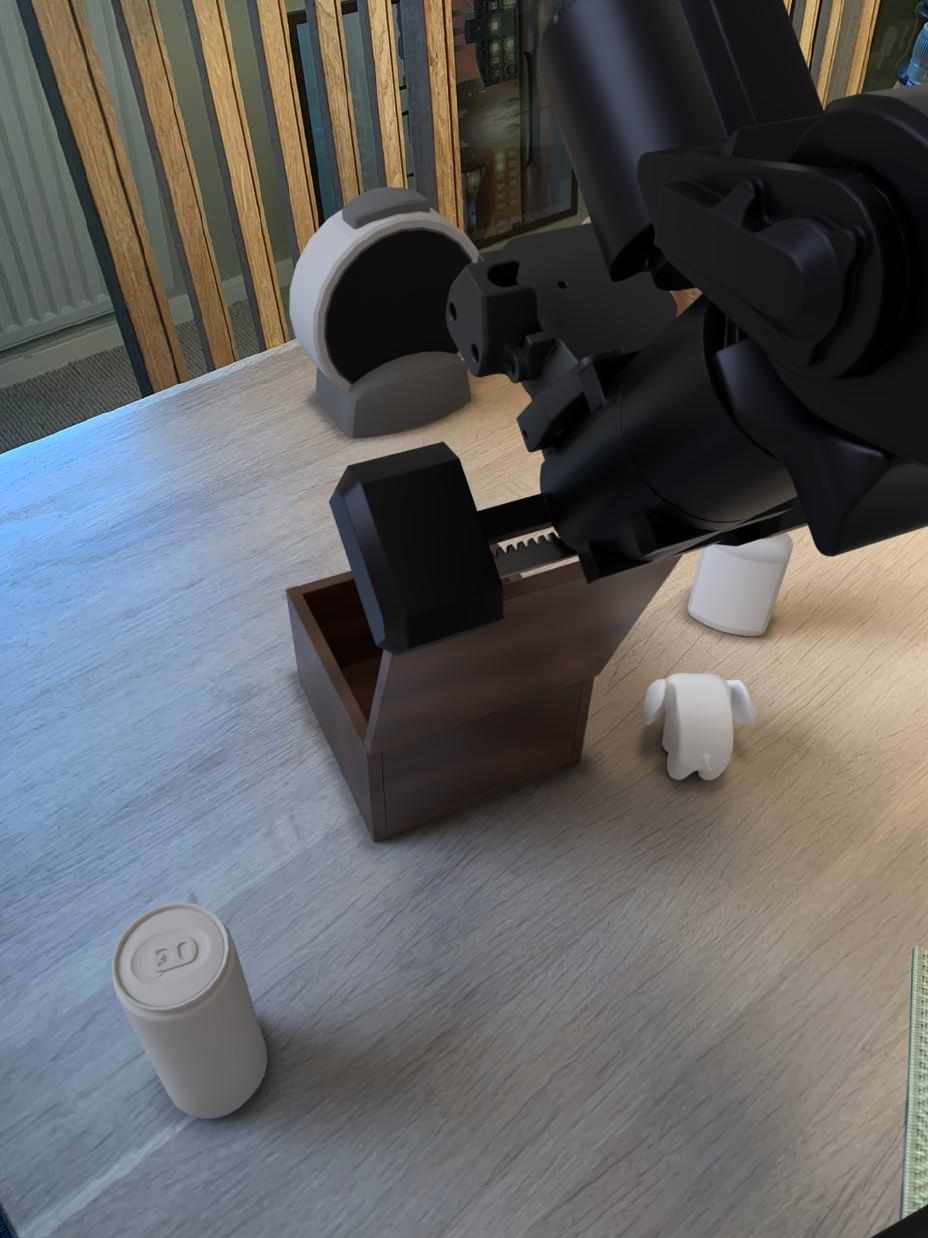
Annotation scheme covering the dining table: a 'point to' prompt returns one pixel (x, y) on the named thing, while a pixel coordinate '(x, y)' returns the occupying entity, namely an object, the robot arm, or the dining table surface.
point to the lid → (511, 652)
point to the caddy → (434, 764)
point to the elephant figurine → (699, 720)
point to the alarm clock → (382, 313)
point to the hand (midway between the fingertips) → (530, 548)
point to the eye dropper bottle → (740, 584)
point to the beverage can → (191, 1007)
